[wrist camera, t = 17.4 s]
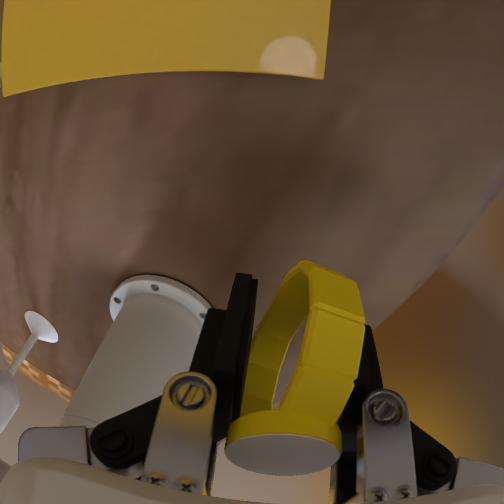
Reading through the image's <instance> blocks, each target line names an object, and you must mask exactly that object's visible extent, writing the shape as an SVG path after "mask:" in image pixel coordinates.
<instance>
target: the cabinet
mask: <svg viewBox="0 0 504 504" xmlns="http://www.w3.org/2000/svg"><path fill="white" fill-rule="evenodd" d="M330 7H331V0H4V10H3V24H2V89H3V97H6V96H9V95H13V94H17V93H21V92H25V91H29V90H33V89H38V88H42V87H47V86H52V85H57V84H62V83H68V82H74V81H80V80H86V79H93V78H101V77H109V76H118V75H128V74H139V73H154V72H176V71H226V72H249V73H263V74H275V75H286V76H295V77H303V78H311V79H318V80H323V79H324V72H325V63H326V53H327V42H328V31H329V19H330Z"/></svg>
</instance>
